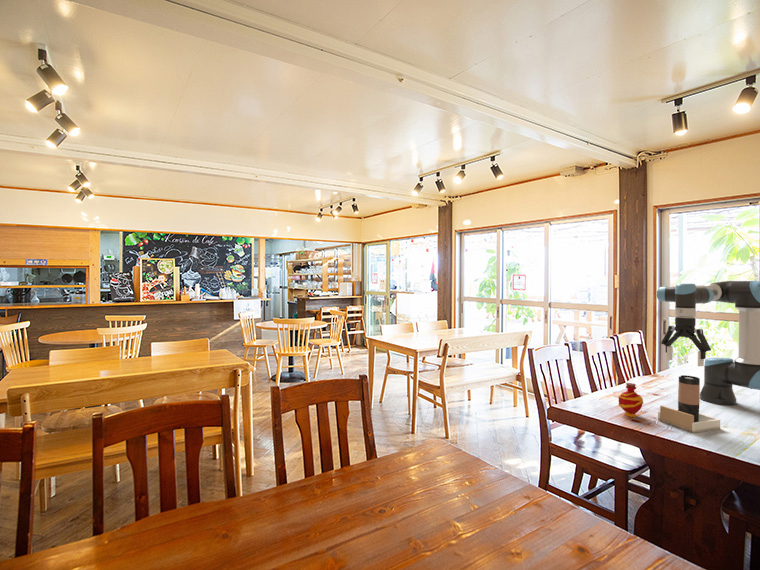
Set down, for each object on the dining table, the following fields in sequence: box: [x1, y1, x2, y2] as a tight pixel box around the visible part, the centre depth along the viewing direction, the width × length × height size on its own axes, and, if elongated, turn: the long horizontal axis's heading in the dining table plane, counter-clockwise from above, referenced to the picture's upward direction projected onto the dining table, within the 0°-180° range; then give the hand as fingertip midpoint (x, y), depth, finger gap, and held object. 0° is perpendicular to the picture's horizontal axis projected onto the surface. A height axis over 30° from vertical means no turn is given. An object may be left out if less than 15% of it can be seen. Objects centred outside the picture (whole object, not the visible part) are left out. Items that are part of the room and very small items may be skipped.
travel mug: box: [677, 374, 701, 423], centre depth 180 cm, size 8×8×20 cm
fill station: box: [657, 405, 721, 434], centre depth 180 cm, size 16×16×7 cm
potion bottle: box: [618, 382, 644, 418], centre depth 192 cm, size 10×10×15 cm
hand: (684, 363), depth 185 cm, fingers open, 13 cm apart
